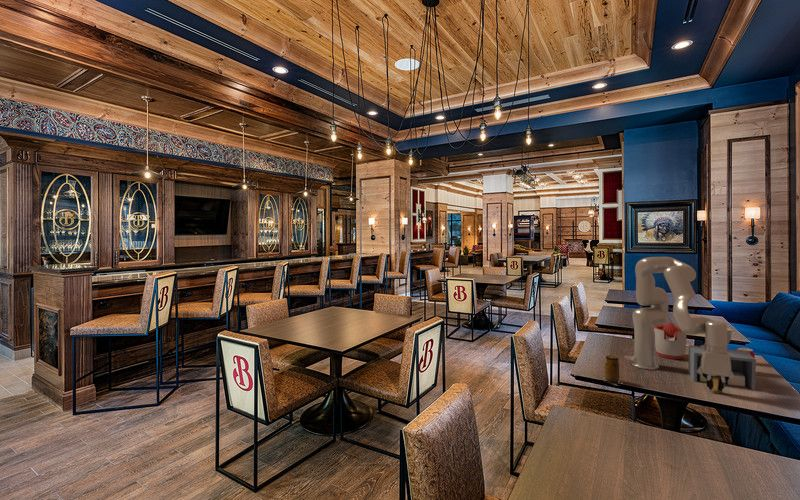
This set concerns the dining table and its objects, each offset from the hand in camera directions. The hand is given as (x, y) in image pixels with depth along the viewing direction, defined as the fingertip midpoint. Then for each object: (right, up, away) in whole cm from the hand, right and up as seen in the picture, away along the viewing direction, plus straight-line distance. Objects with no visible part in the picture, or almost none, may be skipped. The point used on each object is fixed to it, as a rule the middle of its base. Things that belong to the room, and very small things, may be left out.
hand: (715, 389), depth 167 cm
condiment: (-38, -2, +14) cm, 40 cm away
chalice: (+39, 0, +41) cm, 57 cm away
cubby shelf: (+13, -1, +13) cm, 19 cm away
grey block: (+18, -1, +10) cm, 20 cm away
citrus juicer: (+15, 0, +49) cm, 51 cm away
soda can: (+35, -1, +24) cm, 43 cm away
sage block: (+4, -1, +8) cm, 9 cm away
